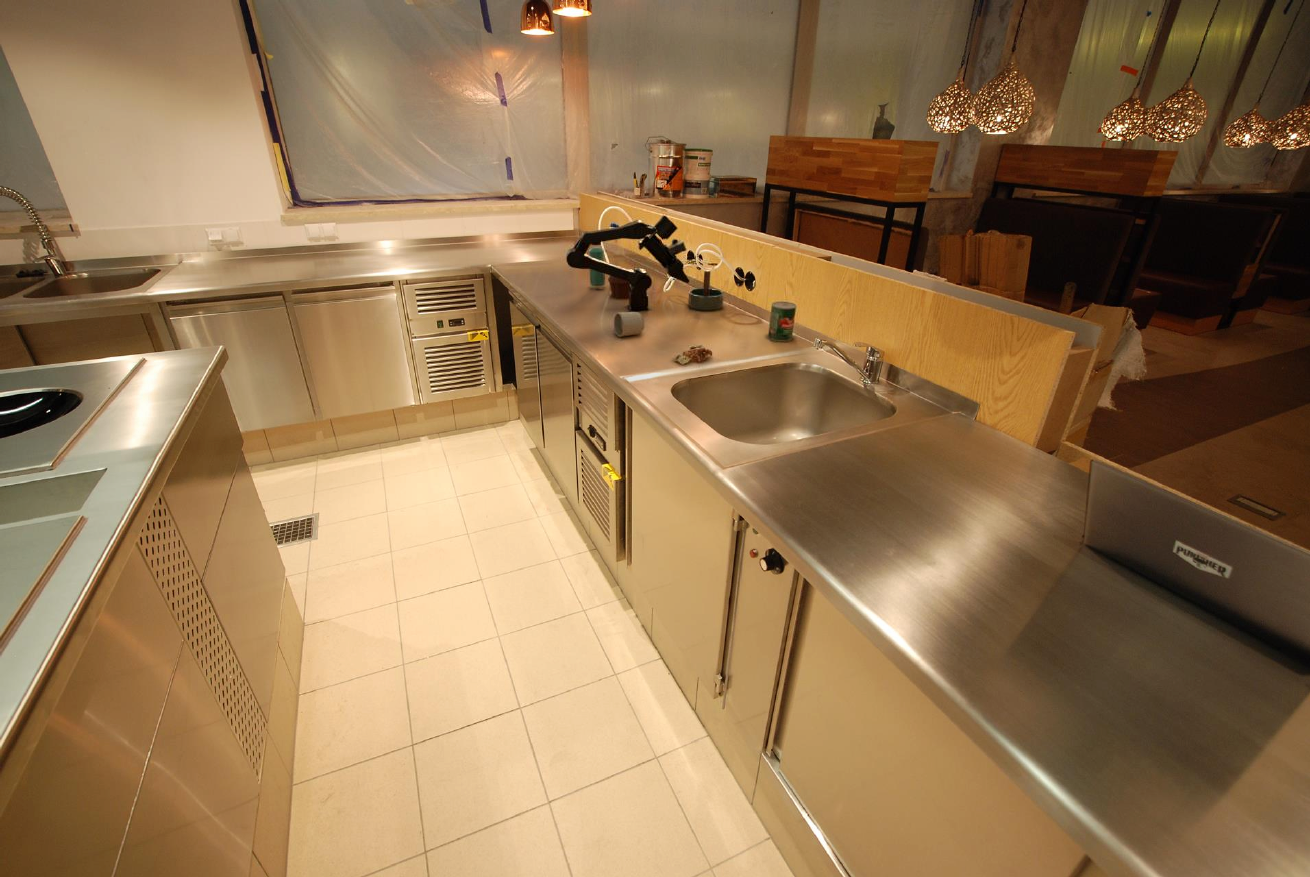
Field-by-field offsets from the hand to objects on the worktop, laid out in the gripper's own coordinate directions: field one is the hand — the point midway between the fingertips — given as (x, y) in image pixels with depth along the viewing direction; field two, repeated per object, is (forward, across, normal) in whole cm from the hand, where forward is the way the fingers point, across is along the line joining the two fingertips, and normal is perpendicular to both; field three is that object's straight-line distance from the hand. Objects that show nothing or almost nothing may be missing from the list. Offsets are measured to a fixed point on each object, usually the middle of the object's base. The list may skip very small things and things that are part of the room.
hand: (686, 279), depth 215 cm
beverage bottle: (-14, +32, +30) cm, 46 cm away
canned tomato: (+25, -39, -10) cm, 47 cm away
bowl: (+13, 0, +2) cm, 13 cm away
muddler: (+13, 0, +1) cm, 13 cm away
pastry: (+2, -55, +14) cm, 57 cm away
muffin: (-8, +19, +23) cm, 31 cm away
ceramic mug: (-11, -29, +26) cm, 41 cm away
